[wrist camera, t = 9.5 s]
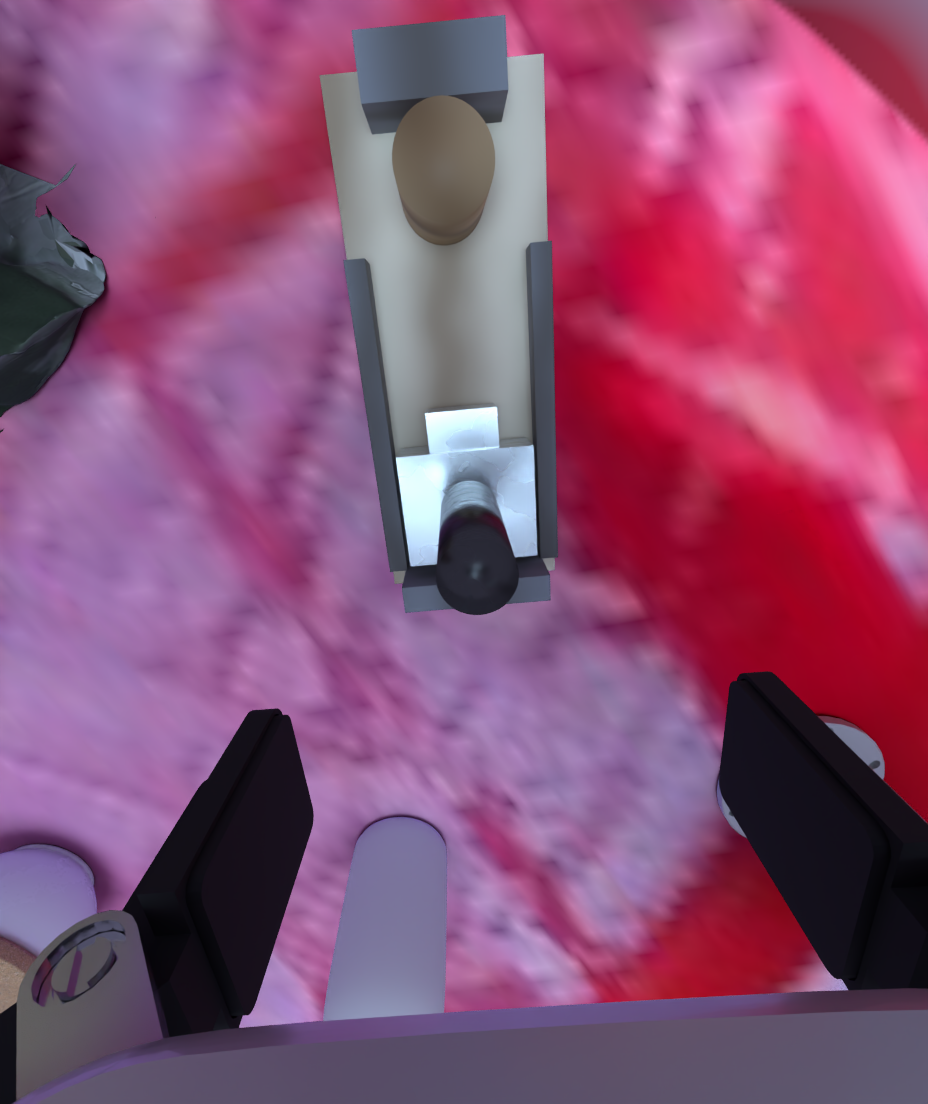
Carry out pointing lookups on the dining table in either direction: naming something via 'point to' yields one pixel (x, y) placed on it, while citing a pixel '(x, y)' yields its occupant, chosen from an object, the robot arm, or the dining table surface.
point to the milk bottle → (392, 925)
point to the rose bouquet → (38, 287)
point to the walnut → (443, 168)
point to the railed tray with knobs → (448, 269)
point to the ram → (469, 506)
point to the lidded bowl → (38, 907)
